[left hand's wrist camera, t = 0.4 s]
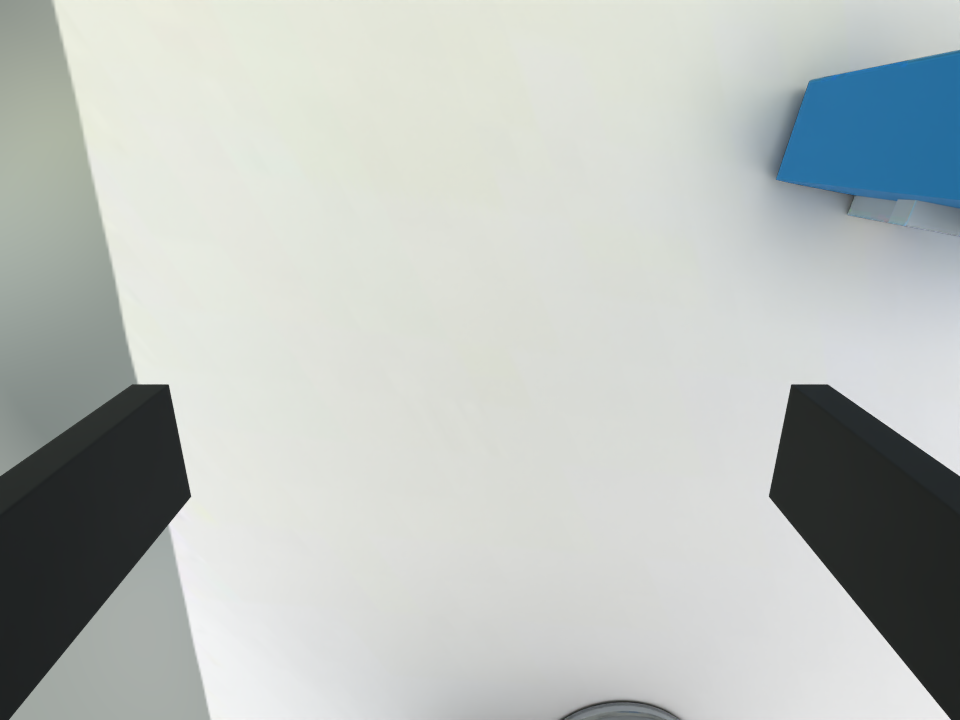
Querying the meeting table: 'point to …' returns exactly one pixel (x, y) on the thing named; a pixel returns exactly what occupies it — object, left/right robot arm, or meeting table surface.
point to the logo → (884, 141)
